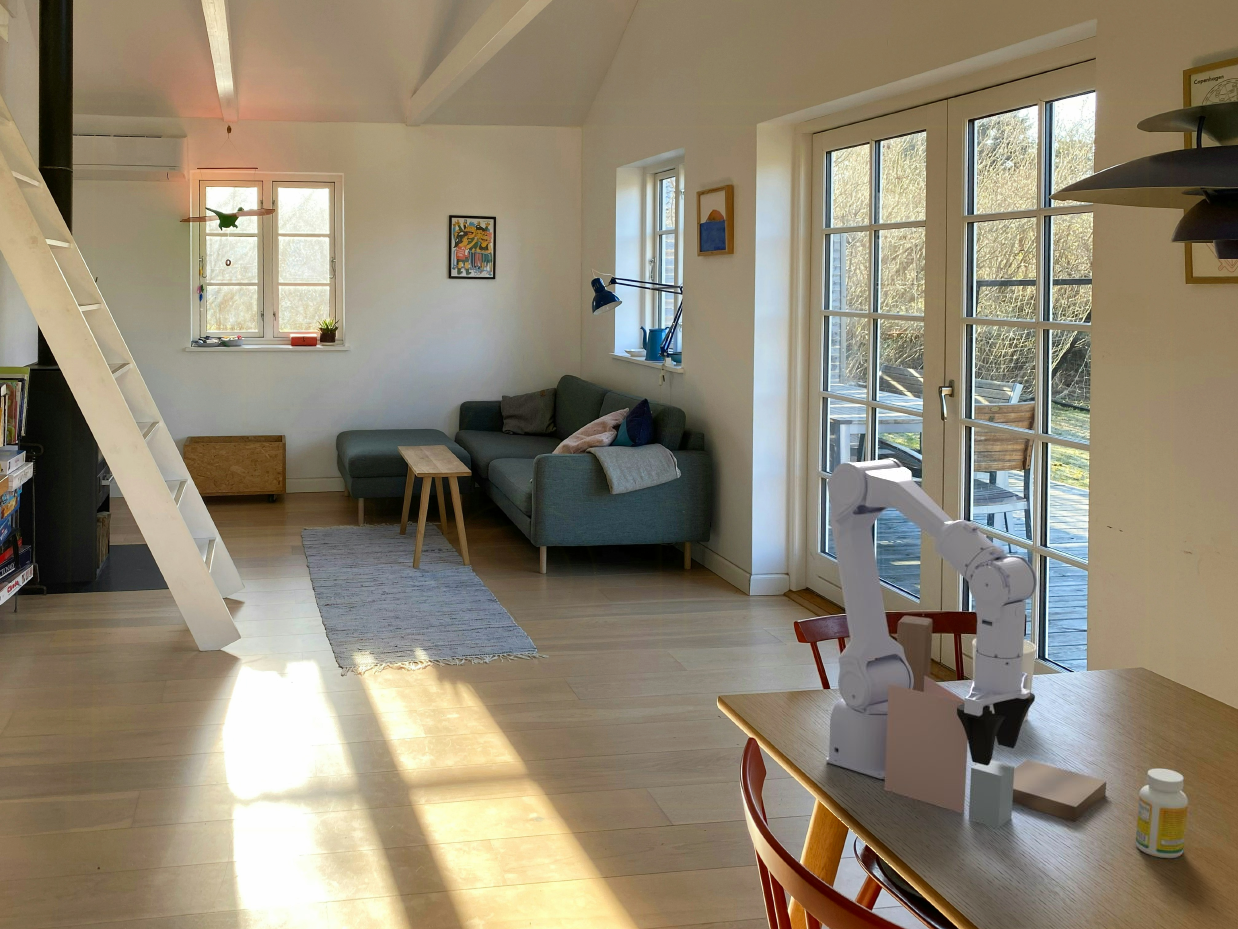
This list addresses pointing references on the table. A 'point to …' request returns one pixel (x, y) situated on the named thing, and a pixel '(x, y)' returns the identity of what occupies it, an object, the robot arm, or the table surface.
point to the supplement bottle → (1162, 814)
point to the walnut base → (1055, 790)
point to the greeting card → (926, 745)
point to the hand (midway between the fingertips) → (993, 754)
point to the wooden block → (916, 646)
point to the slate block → (991, 793)
